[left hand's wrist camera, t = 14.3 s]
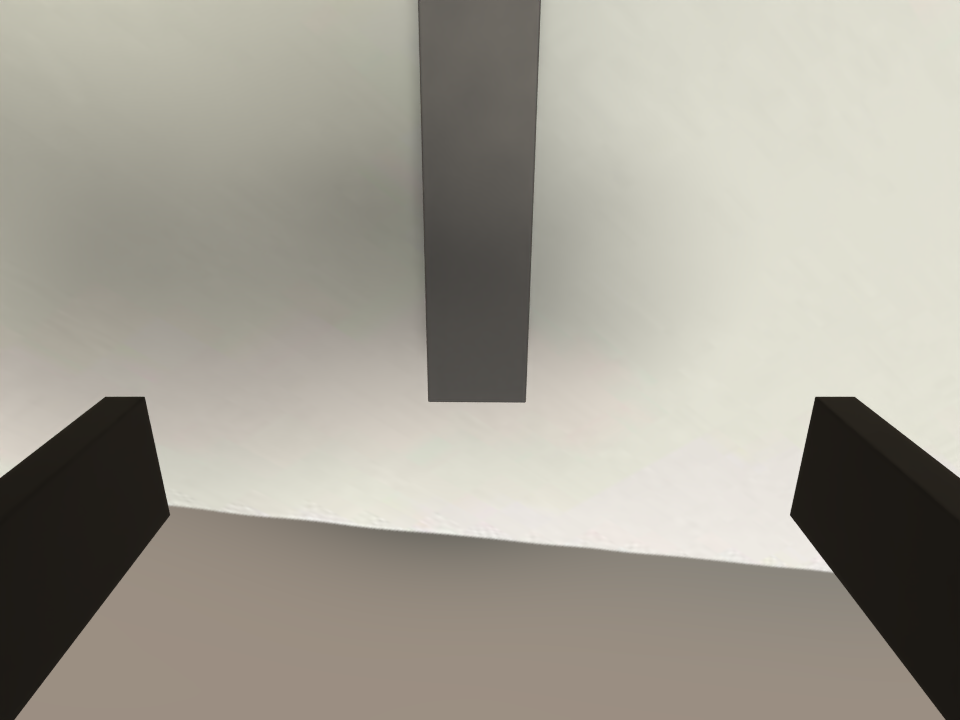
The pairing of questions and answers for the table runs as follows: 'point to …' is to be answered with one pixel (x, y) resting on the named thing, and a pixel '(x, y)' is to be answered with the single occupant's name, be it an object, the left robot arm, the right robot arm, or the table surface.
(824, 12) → the table surface
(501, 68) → the beam
